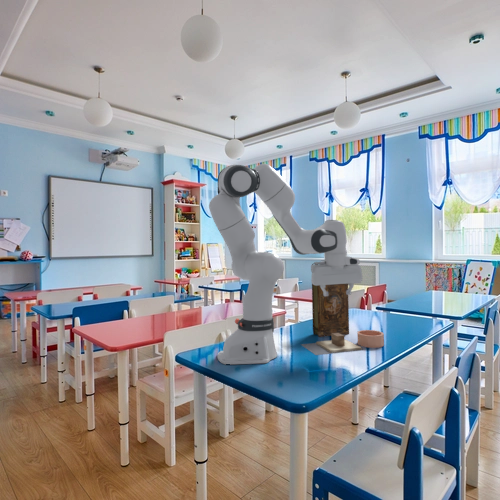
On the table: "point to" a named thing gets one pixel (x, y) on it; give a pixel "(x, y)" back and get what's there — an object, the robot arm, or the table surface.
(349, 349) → the board
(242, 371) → the table surface
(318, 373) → the table surface
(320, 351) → the mat
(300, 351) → the table surface
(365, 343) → the bowl
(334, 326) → the book
